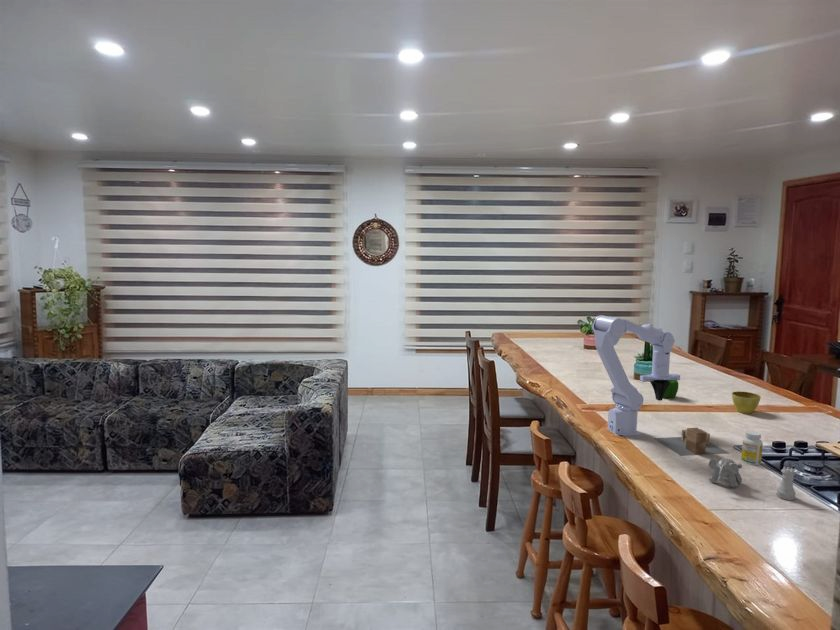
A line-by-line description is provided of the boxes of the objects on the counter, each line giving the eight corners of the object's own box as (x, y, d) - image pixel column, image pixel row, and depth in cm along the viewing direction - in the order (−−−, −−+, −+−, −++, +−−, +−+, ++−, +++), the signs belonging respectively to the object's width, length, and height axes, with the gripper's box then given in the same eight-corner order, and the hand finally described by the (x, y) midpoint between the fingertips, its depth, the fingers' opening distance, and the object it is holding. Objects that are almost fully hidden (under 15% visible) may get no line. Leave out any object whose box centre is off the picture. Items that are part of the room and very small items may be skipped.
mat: (680, 456, 178) (680, 455, 178) (653, 439, 193) (653, 438, 193) (729, 454, 180) (729, 453, 180) (698, 437, 196) (698, 436, 196)
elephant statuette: (739, 481, 161) (741, 455, 160) (748, 496, 150) (750, 468, 149) (704, 476, 164) (705, 451, 163) (710, 491, 153) (711, 464, 152)
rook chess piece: (788, 493, 152) (791, 465, 151) (799, 500, 148) (802, 472, 147) (772, 493, 152) (774, 465, 151) (783, 501, 148) (786, 472, 147)
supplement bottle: (748, 466, 170) (751, 436, 169) (736, 459, 176) (739, 430, 174) (765, 465, 171) (767, 435, 170) (753, 459, 176) (755, 429, 175)
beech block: (690, 434, 187) (709, 433, 188) (681, 429, 192) (700, 429, 192) (689, 444, 187) (709, 443, 188) (681, 439, 192) (699, 438, 193)
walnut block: (695, 454, 179) (696, 433, 178) (685, 448, 184) (687, 428, 183) (705, 453, 179) (706, 432, 178) (695, 448, 184) (697, 427, 183)
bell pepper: (673, 394, 250) (675, 373, 248) (680, 400, 242) (681, 377, 240) (654, 394, 251) (655, 372, 249) (660, 399, 242) (661, 376, 241)
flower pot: (763, 416, 219) (764, 398, 218) (735, 414, 221) (736, 397, 220) (753, 409, 229) (755, 392, 228) (726, 407, 231) (728, 390, 230)
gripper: (647, 366, 198) (646, 403, 200) (685, 365, 200) (683, 401, 202) (637, 362, 205) (636, 398, 207) (674, 360, 207) (672, 396, 209)
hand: (659, 399), depth 205 cm, fingers closed
